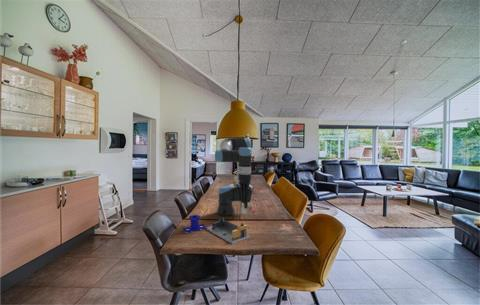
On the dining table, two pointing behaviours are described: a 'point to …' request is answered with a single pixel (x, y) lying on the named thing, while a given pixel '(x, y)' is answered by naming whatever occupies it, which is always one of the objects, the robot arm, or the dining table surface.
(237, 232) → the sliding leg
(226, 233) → the plate
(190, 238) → the dining table surface
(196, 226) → the mount
